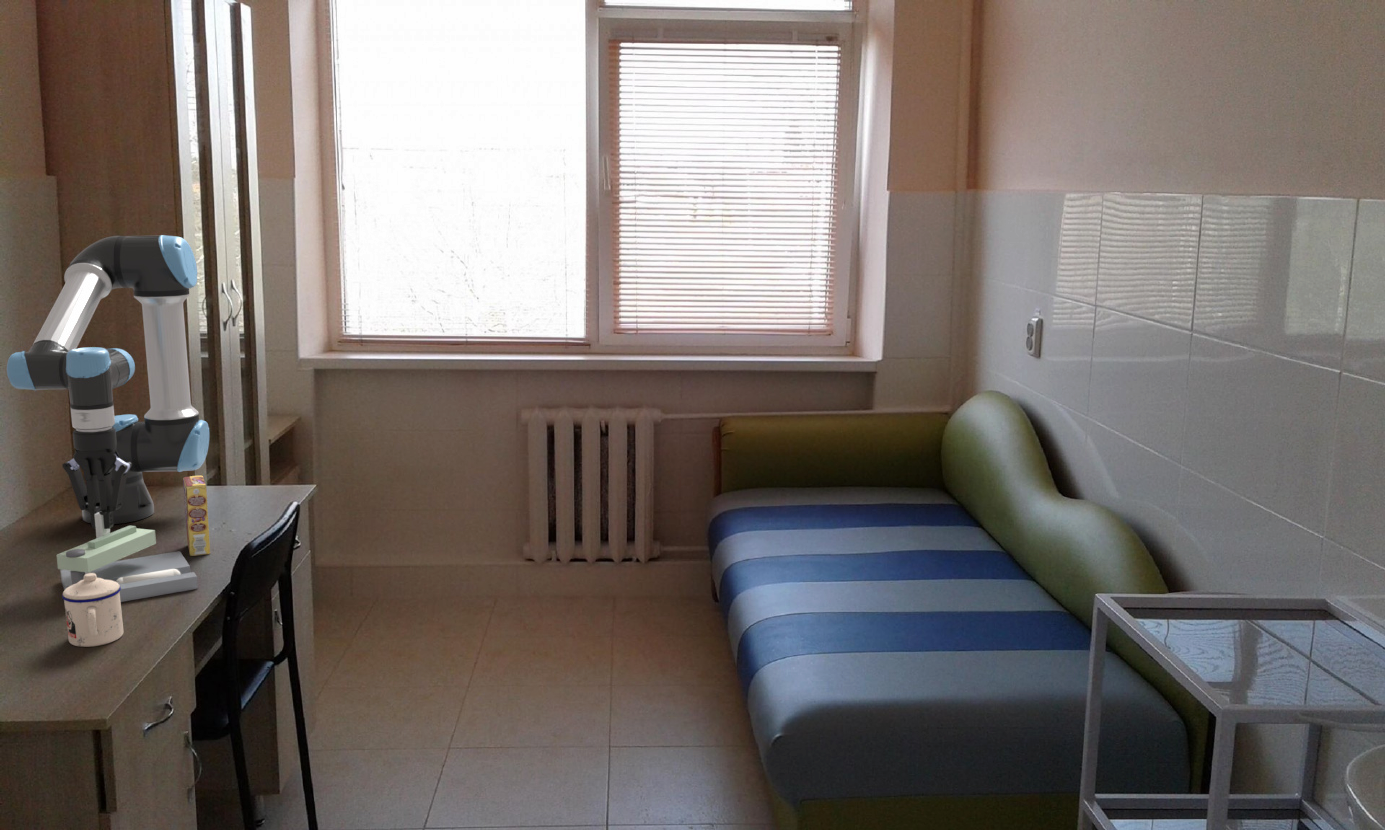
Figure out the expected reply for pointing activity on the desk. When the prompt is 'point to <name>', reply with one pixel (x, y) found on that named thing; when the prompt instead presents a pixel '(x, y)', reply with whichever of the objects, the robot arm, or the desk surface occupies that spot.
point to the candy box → (196, 515)
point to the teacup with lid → (93, 611)
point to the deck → (140, 567)
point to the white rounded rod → (147, 576)
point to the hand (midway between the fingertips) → (104, 543)
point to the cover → (106, 549)
